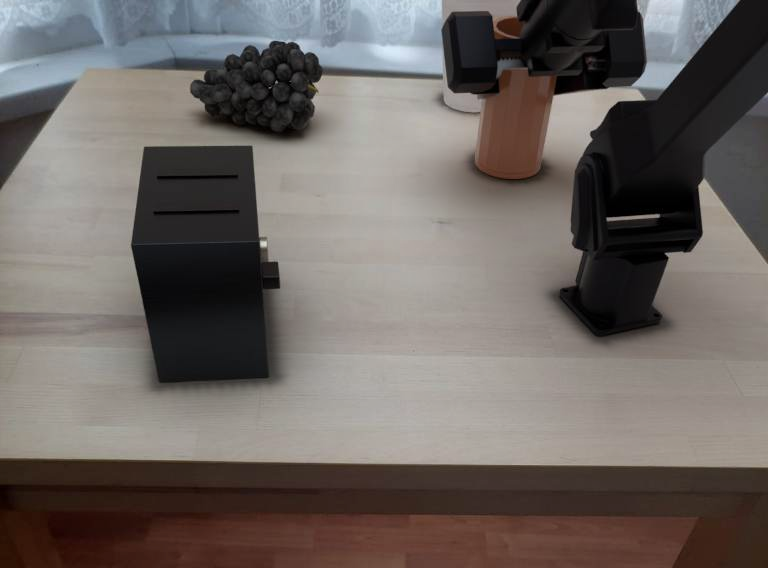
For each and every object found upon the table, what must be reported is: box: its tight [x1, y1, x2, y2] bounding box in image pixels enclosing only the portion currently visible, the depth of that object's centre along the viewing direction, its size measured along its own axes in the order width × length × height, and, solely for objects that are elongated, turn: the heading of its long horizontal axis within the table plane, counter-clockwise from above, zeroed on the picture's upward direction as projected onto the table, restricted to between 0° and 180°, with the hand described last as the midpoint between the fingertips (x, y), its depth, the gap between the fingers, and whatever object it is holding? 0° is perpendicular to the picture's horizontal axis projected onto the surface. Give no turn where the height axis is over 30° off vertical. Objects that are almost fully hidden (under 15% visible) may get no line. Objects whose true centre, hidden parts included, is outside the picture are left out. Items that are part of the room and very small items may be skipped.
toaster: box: [130, 145, 281, 383], centre depth 58 cm, size 9×14×11 cm, turn 8°
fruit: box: [189, 40, 324, 133], centre depth 85 cm, size 9×8×15 cm
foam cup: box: [441, 0, 521, 114], centre depth 90 cm, size 10×9×13 cm
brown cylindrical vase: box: [474, 16, 557, 180], centre depth 79 cm, size 7×7×13 cm
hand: (513, 92), depth 80 cm, fingers closed on brown cylindrical vase, 7 cm apart
